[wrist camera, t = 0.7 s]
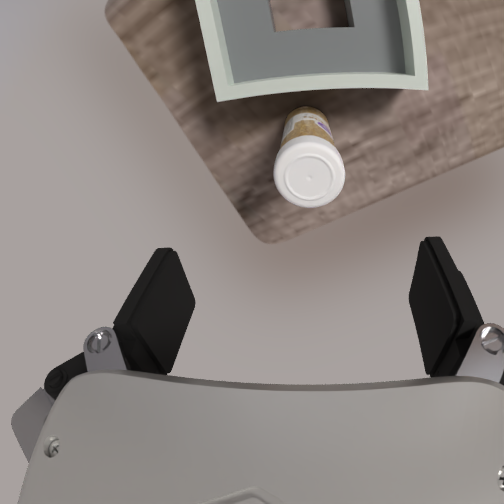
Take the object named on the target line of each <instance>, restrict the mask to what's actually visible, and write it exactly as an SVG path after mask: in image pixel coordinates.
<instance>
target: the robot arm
mask: <svg viewBox="0 0 504 504" xmlns="http://www.w3.org/2000/svg"><path fill="white" fill-rule="evenodd" d="M409 303H410V307H411V311H412V315H413V318H414V322H415V326H416V330H417V334H418V338H419V343H420V348H421V352H422V357H423V362H424V367H425V371H426V374H427V375H429V374H430V377H431V378H423V379H414V380H401V381H389V382H375V383H359V384H332V385H284V384H283V385H282V384H257V383H240V382H226V381H213V380H203V379H193V378H185V377H177V376H168V375H167V373H170V372H171V370H172V368H173V365H174V362H175V359H176V357H177V354H178V351H179V348H180V345H181V342H182V340H183V337H184V334H185V332H186V329H187V326H188V324H189V321H190V318H191V316H192V313H193V310H194V308H195V298H194V295H193V293H192V290H191V288H190V285H189V283H188V280H187V278H186V275H185V272H184V270H183V267H182V264H181V262H180V259H179V257H178V254H177V252H176V251H173V249H172V248H158V249H156V251H155V252H154V254H153V255H152V257H151V258H150V260H149V262H148V263H147V265H146V267H145V268H144V270H143V272H142V273H141V275H140V277H139V278H138V280H137V282H136V284H135V285H134V287H133V288H132V290H131V292H130V294H129V295H128V297H127V299H126V301H125V302H124V304H123V306H122V308H121V310H120V311H119V313H118V315H117V316H116V318H115V321H114V322H113V323H114V327H113V328H112V329H111V328H109V327H101V328H98V329H96V330H94V331H93V332H91V333H90V334H89V335H88V337H87V338H86V340H85V342H84V352H82V353H80V354H79V355H77V356H75V357H74V358H72V359H70V360H68V361H66V362H65V363H63V364H61V365H59V366H58V367H56V368H54V369H53V370H51V371H50V373H49V374H48V375H47V377H46V379H45V383H44V389H42V388H41V387H40V388H39V390H37V391H36V392H35V393H34V394H33V395H32V396H31V397H30V398H29V399H28V400H27V401H26V402H25V403H24V404H23V405H22V406H21V407H20V408H19V409H17V410H16V412H15V413H14V414H13V417H12V421H11V425H12V429H13V431H14V433H15V436H16V438H17V440H18V442H19V444H20V446H21V448H22V450H23V452H24V454H25V456H26V458H27V460H28V462H29V465H28V468H27V472H26V475H25V478H24V481H23V485H22V489H21V493H20V496H19V500H18V504H504V328H502V327H501V326H499V325H496V324H494V323H487V324H484V322H483V320H482V317H481V314H480V312H479V310H478V307H477V305H476V303H475V300H474V298H473V296H472V294H471V291H470V289H469V287H468V285H467V283H466V281H465V279H464V277H463V275H462V273H461V272H460V271H458V269H457V267H456V265H455V264H454V262H453V259H452V258H451V256H450V254H449V252H448V250H447V248H446V246H445V244H444V243H443V241H442V239H441V238H440V237H426V238H425V240H424V241H421V242H420V246H419V251H418V257H417V261H416V266H415V271H414V276H413V280H412V284H411V288H410V292H409Z"/></svg>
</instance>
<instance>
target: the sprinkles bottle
mask: <svg viewBox="0 0 504 504" xmlns="http://www.w3.org/2000/svg"><path fill="white" fill-rule="evenodd" d="M284 127H285V128H284V132H283V137H282V142H281V146H280V150H279V152H278V154H277V156H276V160H275V165H274V182H275V185H276V187H277V189H278V191H279V192H280V194H281V195H282V196H283V197H284V198H285V199H286V200H287V201H289V202H290V203H292V204H294V205H297V206H300V207H305V208H315V207H320V206H323V205H326V204H328V203H329V202H331V201H332V200H334V199H335V198H336V197H337V196H338V194H339V193H340V191H341V190H342V188H343V185H344V181H345V169H344V165H343V161H342V158H341V156H340V154H339V152H338V150H337V149H336V148H335V146H334V140H333V137H332V134H331V131H330V128H329V124H328V121H327V119H326V117H325V115H324V114H323V113H322V112H321V111H319V110H317V109H315V108H313V107H306V106H305V107H299V108H297V109H295V110H293V111H292V112H291V113H290V114H289V115H288V116H287V119H286V121H285V125H284Z"/></svg>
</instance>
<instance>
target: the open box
mask: <svg viewBox="0 0 504 504" xmlns="http://www.w3.org/2000/svg"><path fill="white" fill-rule="evenodd" d="M195 2H196V7H197V11H198V16H199V21H200V25H201V30H202V35H203V39H204V44H205V49H206V53H207V58H208V63H209V67H210V72H211V77H212V81H213V86H214V90H215V95H216V100H217V102H221V101H226V100H232V99H238V98H245V97H252V96H259V95H266V94H275V93H284V92H294V91H305V90H320V89H340V88H397V89H417V90H428V72H427V59H426V48H425V39H424V30H423V23H422V16H421V10H420V4H419V0H344V2H345V7H346V13H347V19H348V25H349V27H336V28H313V29H300V30H289V31H280V32H276V30H275V24H274V19H273V14H272V9H271V4H270V0H195Z"/></svg>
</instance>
